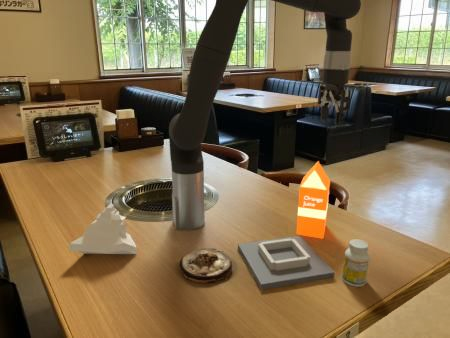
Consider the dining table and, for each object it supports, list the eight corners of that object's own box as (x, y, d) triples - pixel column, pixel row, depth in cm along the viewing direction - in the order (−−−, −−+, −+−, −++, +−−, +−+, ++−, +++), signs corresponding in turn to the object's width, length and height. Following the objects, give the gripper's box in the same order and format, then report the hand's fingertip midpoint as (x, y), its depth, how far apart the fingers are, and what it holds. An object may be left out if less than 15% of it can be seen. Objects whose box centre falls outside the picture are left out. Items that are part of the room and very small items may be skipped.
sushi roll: (180, 294, 81) (180, 277, 80) (171, 258, 95) (171, 243, 93) (244, 283, 85) (245, 267, 83) (227, 250, 98) (227, 236, 97)
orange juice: (326, 225, 111) (332, 161, 105) (323, 238, 103) (330, 171, 97) (300, 221, 114) (304, 159, 107) (295, 234, 106) (300, 168, 99)
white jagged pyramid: (87, 246, 102) (91, 195, 101) (141, 251, 102) (145, 200, 101) (68, 260, 90) (72, 202, 89) (129, 266, 90) (134, 208, 89)
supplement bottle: (361, 290, 82) (366, 252, 78) (338, 281, 85) (342, 244, 82) (369, 279, 85) (375, 242, 82) (347, 270, 89) (351, 235, 86)
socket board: (261, 290, 82) (261, 276, 81) (237, 248, 98) (238, 237, 97) (333, 277, 86) (335, 264, 85) (300, 240, 102) (300, 229, 101)
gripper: (313, 66, 114) (309, 118, 119) (338, 68, 101) (332, 127, 106) (334, 65, 116) (330, 117, 121) (362, 68, 103) (355, 125, 108)
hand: (331, 121), depth 114 cm, fingers open, 8 cm apart
